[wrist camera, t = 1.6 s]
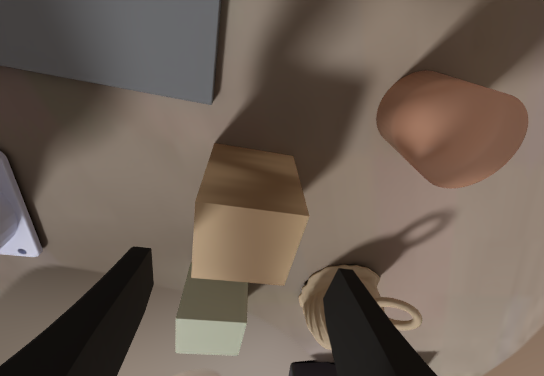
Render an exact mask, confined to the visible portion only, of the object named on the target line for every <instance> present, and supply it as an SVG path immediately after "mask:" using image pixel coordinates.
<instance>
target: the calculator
mask: <svg viewBox="0 0 544 376" xmlns="http://www.w3.org/2000/svg"><path fill="white" fill-rule="evenodd" d="M289 376H338V374H337V370H336V366H335V364H330V363H328V362H317V361H316V360H308V361H299V362H293V363H291V365H290V371H289Z"/></svg>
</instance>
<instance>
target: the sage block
mask: <svg viewBox="0 0 544 376" xmlns="http://www.w3.org/2000/svg"><path fill="white" fill-rule="evenodd" d="M191 271H192V263H191V264H190V267H189V271H188V275H187V279H186V282H185V286H184V290H183V293H182V297H181V301H180V305H179V308H178V312H177V316H176V353H187V354H209V355H232V356H238V354H239V350H240V346H241V343H242V339H243V335H244V332H245V328H246V324H247V303H248V283H247V282H236V281H224V280H212V279H200V278H191Z"/></svg>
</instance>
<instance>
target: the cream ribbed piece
mask: <svg viewBox="0 0 544 376" xmlns="http://www.w3.org/2000/svg"><path fill="white" fill-rule="evenodd" d="M338 268H343V269H352V270H353V271H354V272H355V273H356V275H357V276H358V277H359V279H360V280H361V281H362V283H363V284H364V286H365V287H366V288H367V290H368V291H369V292H370V294H371V295H372V297H373V298H374V299H375V301H376V302H377V303H378V305H379V306H380V307H381V309H382V310H383V311H384V307H394V308H398V309H402V310H404V311H406V312H408V313H409V314H410V315H412V317H413V319H412V320H409V321H399V320H394V319H390V318H389V319H390V321H391V322H392V323H393V324H394V326H395V327H396V328H397V329H398V330H412V329H415V328H418V327H419V326H420V325H421V323H422V316H421V314H420V313H419V311H418V310H417V309H416V308H415V307H413V306H412V305H410V304H408V303H406V302H404V301H401V300H398V299H394V298H387V297H380V294H379V292H378V290H377V285H378V282H379V280H380V277H379V276H378V275H377V274H376V273H375V272H373V271H371V270H370V269H369V268H367V267H361V266H358V265H353V266H348V265H339V266H329V267H326V268H324V269H322V270H321V271H319V272H316V273H314V274H313V275H312V276H311V277H310V278H309V280H308V282H307V284H306V285H305V286H303V287H302V293H301V294H300V295H299V302H300V305H301V306H302V307H303V313H304V315H305V318H306V323H307V326H308V328H309V330H310V332H311V333H312V334H313V336H314V337H315V339H316V340H317V342H318V343H319V344H320V345H321V346H323V347H324V348H326V349H329V350H332V349H331V345H330V340H329V336H328V332H327V327H326V321H325V314H324V304H323V297H324V295H325V293H326V291H327V289H328V288H329V286H330V284H331V282H332V280H333V278H334V276H335V274H336V272H337V270H338Z"/></svg>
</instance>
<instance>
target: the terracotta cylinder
mask: <svg viewBox="0 0 544 376" xmlns="http://www.w3.org/2000/svg"><path fill="white" fill-rule="evenodd" d="M376 121H377V128H378V130H379V132H380V134H381V136H382V137H383V138H384V139H385V140H386V141H387V142H388V143H389V144H390V145H391V146H392V147H393V148H394V149H395V150H396V151H397V152H399V153H400V154H401V155H402V156H403V157H404V158H405V159H406V160H407V161H408V162H409V163H410V164H411V165H412V166H413V167H414V168H415V169H416V170H417V171H418V172H419V173H420V174H421V175H422V176H423V177H424V178H425V179H427V180H428V181H429V182H430V183H432V184H433V185H436V186H438V187H442V188H460V187H465V186H469V185H472V184H475V183H477V182H480V181H482V180H484V179H486V178H487V177H489V176H491V175H492V174H494V173H495V172H496V171H498V170H499V169H500V168H502V167H503V166H504V165H505V164H506V163H507V162H508V161H509V160H510V159H511V158H512V157H513V155H514V154H515V153H516V151H517V150H518V149H519V147H520V145H521V144H522V142H523V140H524V137H525V135H526V132H527V127H528V114H527V110H526V108H525V106H524V105H523V103H522V102H521V101H520V100H519V99H517V98H516V97H514V96H512V95H509V94H506V93H502V92H499V91H496V90H493V89H490V88H486V87H483V86H480V85H477V84H473V83H470V82H467V81H464V80H461V79H457V78H454V77H451V76H448V75H444V74H441V73H438V72H435V71H429V70H424V71H418V72H414V73H411V74H409V75H407V76H405V77H403V78H401V79H400V80H399V81H397V82H396V83H395V84H394V85H393V86H392V87H391V88H390V89H389V90H388V91H387V92H386V94H385V95H384V97H383V98H382V100H381V102H380V105H379V107H378V111H377V118H376Z"/></svg>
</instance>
